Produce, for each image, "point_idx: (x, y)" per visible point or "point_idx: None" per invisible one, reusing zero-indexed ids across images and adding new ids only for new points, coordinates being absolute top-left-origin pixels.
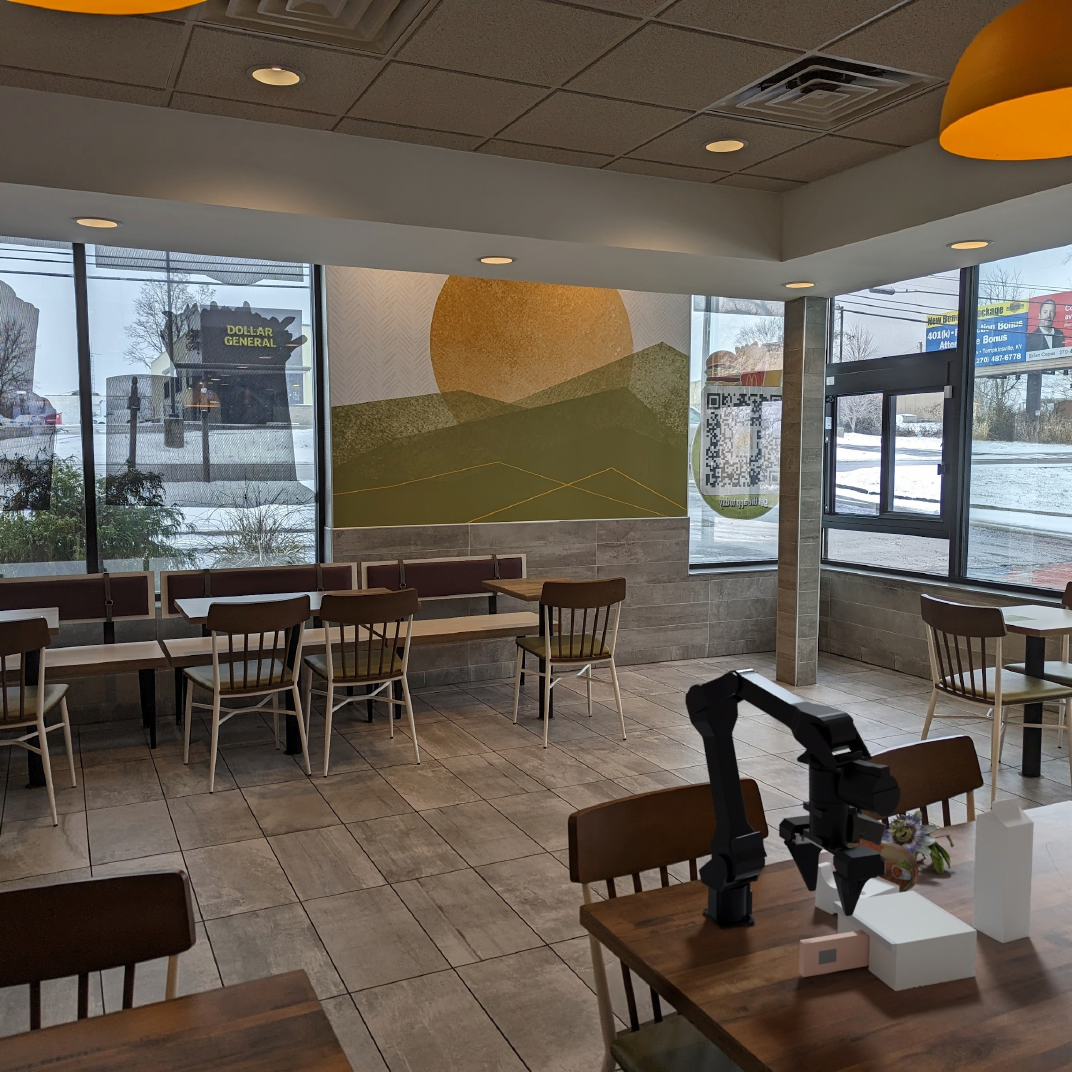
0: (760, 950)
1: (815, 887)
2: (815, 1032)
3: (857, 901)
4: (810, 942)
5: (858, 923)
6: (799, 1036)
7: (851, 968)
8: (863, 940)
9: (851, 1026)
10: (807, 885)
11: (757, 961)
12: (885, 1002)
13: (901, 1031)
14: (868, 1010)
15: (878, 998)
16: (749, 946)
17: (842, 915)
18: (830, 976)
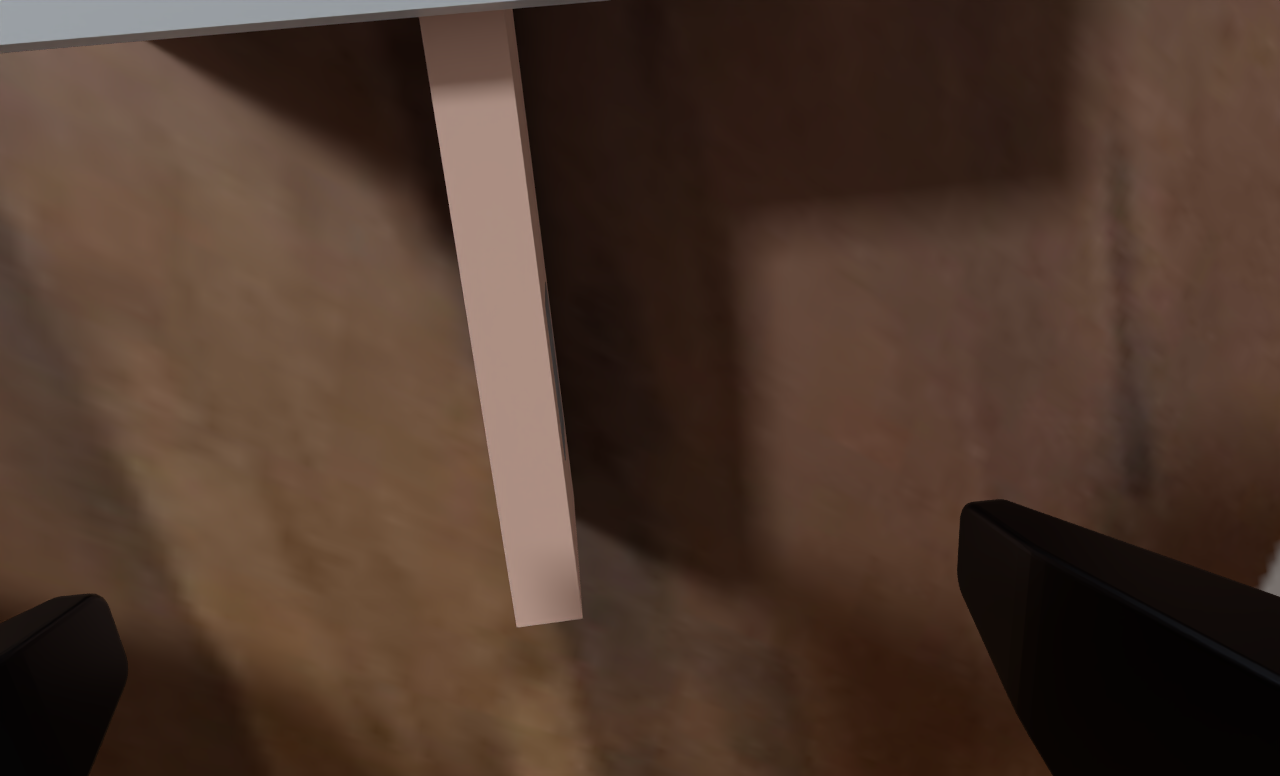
0: (180, 589)
1: (78, 622)
2: None
3: (1210, 578)
4: (567, 565)
5: (395, 13)
6: None
7: (528, 137)
8: (507, 19)
9: (1046, 438)
10: (84, 765)
11: (319, 649)
12: (915, 116)
13: (1184, 200)
14: (953, 271)
15: (863, 135)
16: (123, 633)
17: (102, 43)
18: (557, 305)
